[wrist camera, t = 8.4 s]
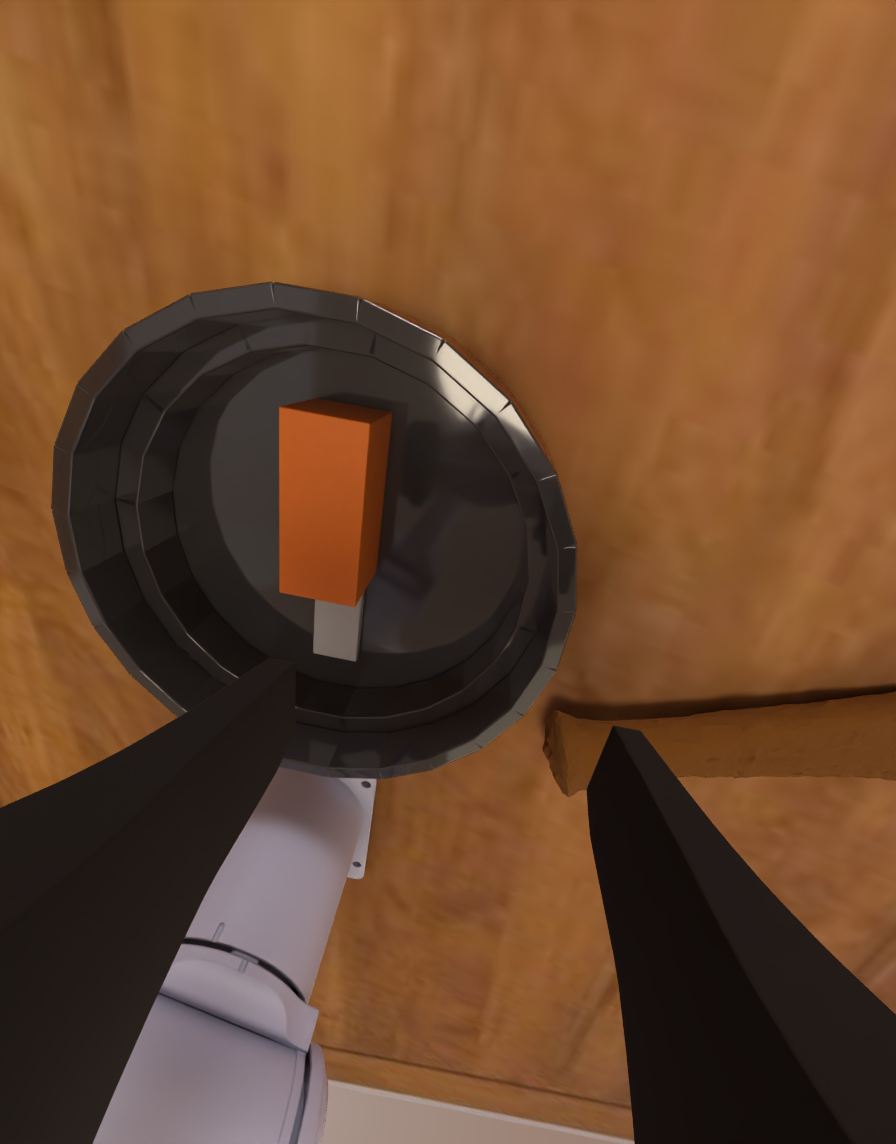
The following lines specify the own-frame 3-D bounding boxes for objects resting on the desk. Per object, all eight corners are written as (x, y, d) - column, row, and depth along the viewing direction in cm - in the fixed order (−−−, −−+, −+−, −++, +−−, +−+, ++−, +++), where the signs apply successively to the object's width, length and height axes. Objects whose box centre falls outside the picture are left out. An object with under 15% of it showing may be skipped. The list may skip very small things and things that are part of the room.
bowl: (508, 734, 23) (508, 816, 19) (172, 664, 23) (101, 730, 19) (621, 351, 15) (663, 350, 11) (119, 262, 16) (-15, 230, 12)
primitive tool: (1036, 670, 18) (1146, 738, 15) (989, 770, 20) (1077, 847, 17) (538, 692, 21) (544, 752, 18) (546, 776, 24) (552, 842, 21)
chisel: (315, 397, 16) (277, 406, 14) (392, 411, 16) (370, 423, 14) (308, 645, 21) (279, 687, 18) (367, 657, 21) (347, 702, 18)
